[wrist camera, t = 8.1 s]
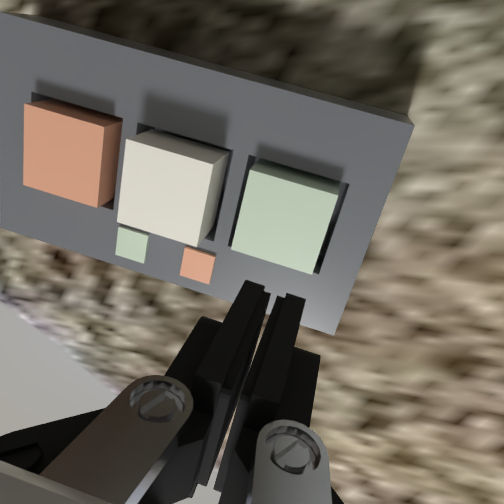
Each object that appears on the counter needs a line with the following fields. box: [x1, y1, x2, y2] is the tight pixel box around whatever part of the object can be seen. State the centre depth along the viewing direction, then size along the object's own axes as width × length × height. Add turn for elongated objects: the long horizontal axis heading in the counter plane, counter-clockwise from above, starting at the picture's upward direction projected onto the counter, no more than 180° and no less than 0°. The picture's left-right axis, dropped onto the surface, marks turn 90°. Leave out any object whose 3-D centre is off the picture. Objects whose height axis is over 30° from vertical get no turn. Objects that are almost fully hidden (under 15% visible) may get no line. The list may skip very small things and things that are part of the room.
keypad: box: [0, 12, 415, 335], centre depth 26 cm, size 21×12×4 cm, turn 77°
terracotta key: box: [23, 99, 123, 208], centre depth 25 cm, size 4×4×3 cm
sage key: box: [231, 158, 341, 275], centre depth 24 cm, size 4×4×3 cm
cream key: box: [117, 129, 229, 247], centre depth 24 cm, size 4×4×3 cm
